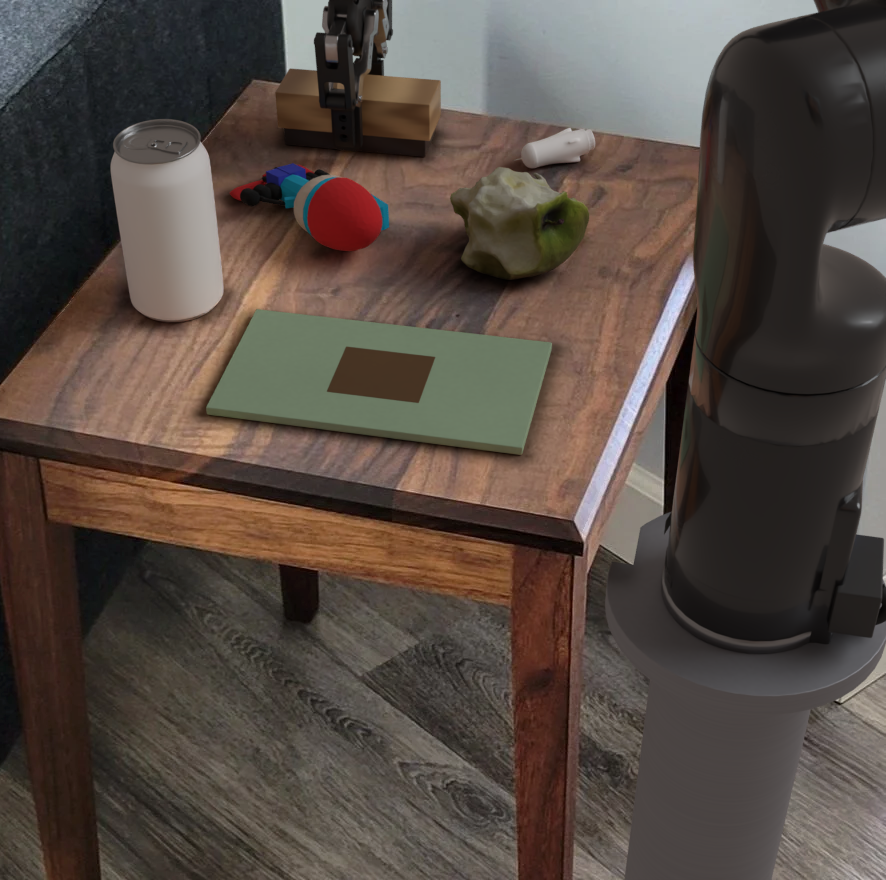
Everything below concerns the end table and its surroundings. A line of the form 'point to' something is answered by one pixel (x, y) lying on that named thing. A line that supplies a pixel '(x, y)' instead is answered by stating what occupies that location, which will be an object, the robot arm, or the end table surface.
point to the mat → (384, 380)
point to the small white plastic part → (558, 148)
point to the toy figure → (321, 205)
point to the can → (167, 220)
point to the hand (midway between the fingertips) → (359, 125)
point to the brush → (363, 113)
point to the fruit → (518, 224)
